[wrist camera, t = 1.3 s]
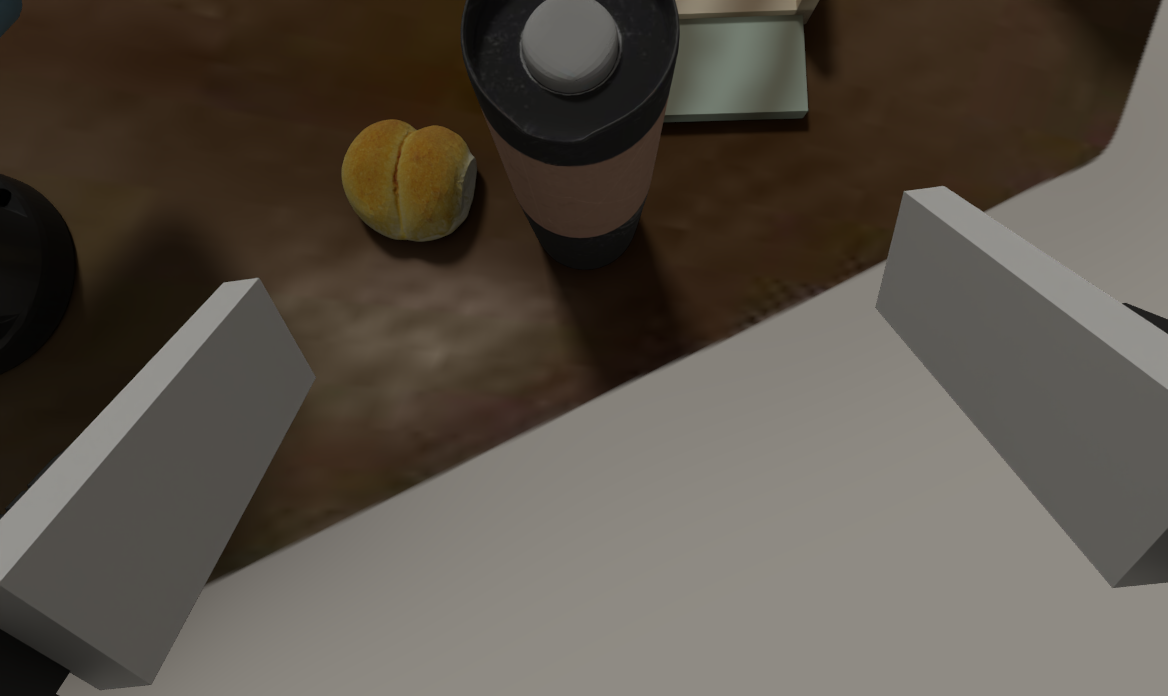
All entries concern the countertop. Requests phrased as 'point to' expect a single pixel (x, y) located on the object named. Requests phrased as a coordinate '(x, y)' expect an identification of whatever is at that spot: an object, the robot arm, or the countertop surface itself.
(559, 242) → the travel mug
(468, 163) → the bread roll
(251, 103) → the countertop surface
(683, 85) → the stepped plastic tray
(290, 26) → the countertop surface
